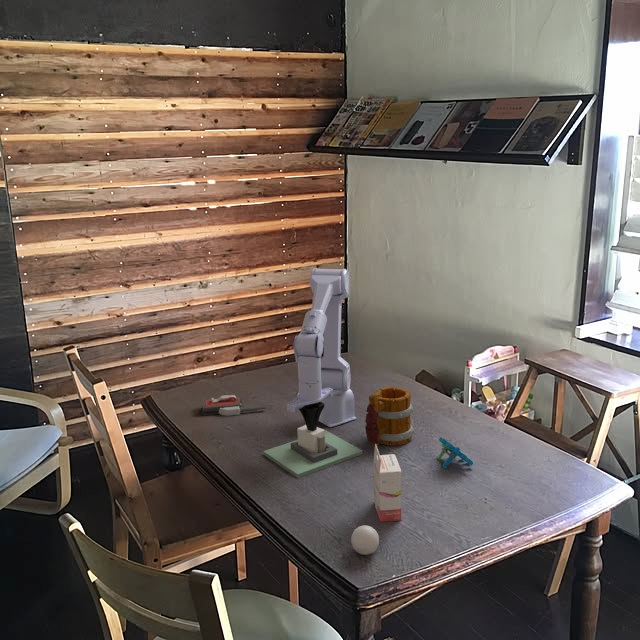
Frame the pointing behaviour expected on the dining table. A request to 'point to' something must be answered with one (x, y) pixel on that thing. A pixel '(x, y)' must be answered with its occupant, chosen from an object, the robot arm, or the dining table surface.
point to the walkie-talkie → (225, 406)
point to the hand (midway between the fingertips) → (311, 429)
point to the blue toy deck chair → (453, 453)
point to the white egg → (365, 540)
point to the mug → (389, 417)
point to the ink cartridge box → (387, 487)
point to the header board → (312, 455)
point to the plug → (311, 439)
